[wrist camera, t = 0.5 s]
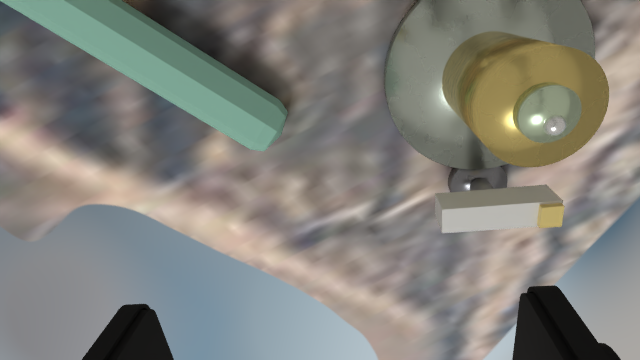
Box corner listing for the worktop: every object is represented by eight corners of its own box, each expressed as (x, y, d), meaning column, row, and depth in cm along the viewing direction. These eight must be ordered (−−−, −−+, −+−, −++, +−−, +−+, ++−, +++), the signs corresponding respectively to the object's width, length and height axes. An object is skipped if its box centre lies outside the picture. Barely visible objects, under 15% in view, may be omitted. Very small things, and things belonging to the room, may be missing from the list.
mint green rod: (284, 134, 30) (-43, -67, 26) (256, 175, 35) (-30, 8, 30) (305, 94, 34) (26, -86, 30) (278, 134, 39) (30, -18, 34)
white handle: (429, 201, 37) (443, 236, 31) (429, 180, 36) (443, 212, 31) (530, 193, 36) (562, 228, 30) (532, 171, 35) (566, 203, 29)
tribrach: (350, -115, 28) (350, -200, 16) (636, -165, 26) (888, -308, 14) (376, 210, 39) (388, 306, 27) (577, 195, 37) (688, 292, 25)
